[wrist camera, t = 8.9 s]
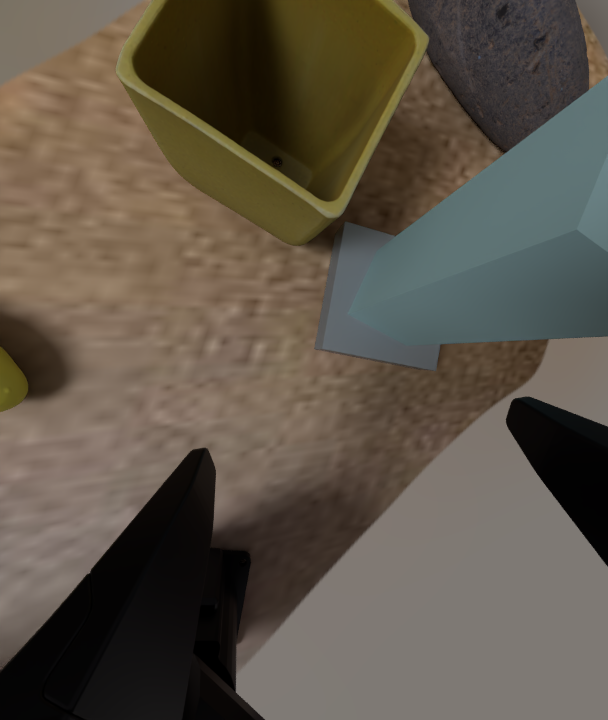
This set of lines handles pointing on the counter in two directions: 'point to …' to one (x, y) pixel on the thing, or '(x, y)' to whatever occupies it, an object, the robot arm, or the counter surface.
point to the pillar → (506, 246)
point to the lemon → (11, 382)
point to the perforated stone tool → (507, 60)
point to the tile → (341, 289)
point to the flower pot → (272, 99)
